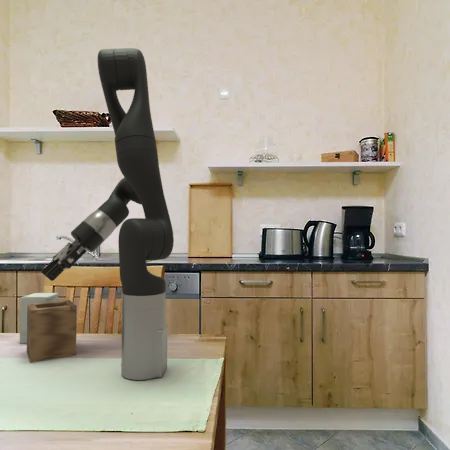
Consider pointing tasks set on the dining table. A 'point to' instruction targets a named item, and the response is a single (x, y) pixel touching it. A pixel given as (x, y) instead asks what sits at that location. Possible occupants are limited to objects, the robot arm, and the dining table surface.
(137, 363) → the robot arm
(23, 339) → the supplement box
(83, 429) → the dining table surface
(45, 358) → the brown wooden bin
